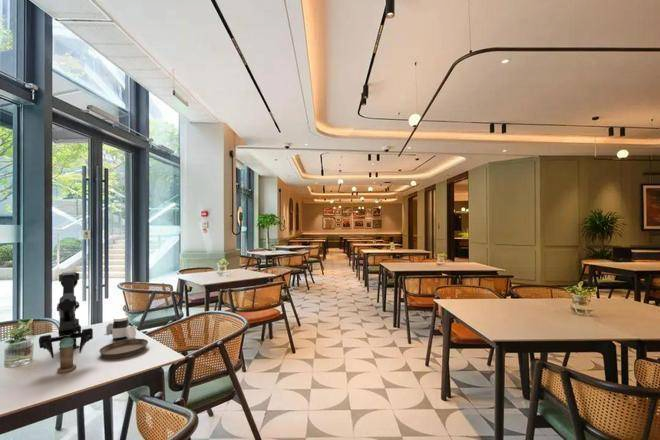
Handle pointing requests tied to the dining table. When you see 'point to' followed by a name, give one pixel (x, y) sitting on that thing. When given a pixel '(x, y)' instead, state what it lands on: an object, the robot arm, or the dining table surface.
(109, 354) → the plant saucer
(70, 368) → the bead column
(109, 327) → the lighter
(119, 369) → the dining table surface
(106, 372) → the dining table surface
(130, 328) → the spread jar
